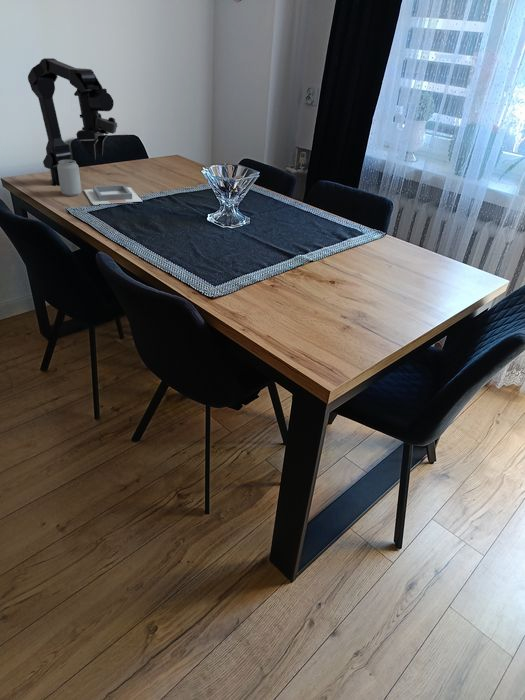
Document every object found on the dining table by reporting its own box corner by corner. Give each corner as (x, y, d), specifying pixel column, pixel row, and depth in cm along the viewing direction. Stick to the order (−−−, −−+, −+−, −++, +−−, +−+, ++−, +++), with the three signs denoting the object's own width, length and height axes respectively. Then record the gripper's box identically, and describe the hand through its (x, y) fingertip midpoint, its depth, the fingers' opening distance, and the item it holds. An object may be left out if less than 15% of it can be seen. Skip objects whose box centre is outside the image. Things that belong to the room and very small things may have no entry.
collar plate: (84, 191, 193) (83, 184, 191) (130, 188, 200) (129, 182, 199) (93, 205, 180) (92, 198, 178) (142, 202, 187) (142, 195, 186)
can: (84, 192, 192) (81, 159, 185) (76, 197, 186) (72, 164, 179) (66, 189, 192) (61, 157, 186) (57, 195, 186) (52, 162, 180)
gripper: (105, 112, 163) (113, 162, 171) (119, 108, 180) (125, 154, 187) (71, 112, 163) (81, 162, 171) (88, 109, 180) (96, 154, 187)
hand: (97, 158), depth 179 cm, fingers open, 9 cm apart
